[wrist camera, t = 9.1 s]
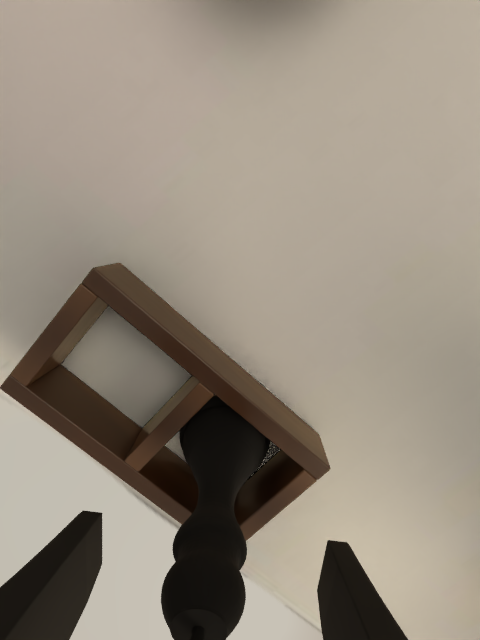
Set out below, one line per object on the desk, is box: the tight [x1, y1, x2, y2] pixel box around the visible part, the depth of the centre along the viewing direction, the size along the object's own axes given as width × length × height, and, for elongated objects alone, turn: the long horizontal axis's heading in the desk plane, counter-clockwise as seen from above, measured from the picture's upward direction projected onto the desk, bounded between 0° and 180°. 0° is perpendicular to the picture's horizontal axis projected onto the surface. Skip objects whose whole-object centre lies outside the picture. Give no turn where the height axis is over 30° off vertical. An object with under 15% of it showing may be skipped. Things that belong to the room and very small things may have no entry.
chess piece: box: [161, 395, 270, 640], centre depth 11 cm, size 4×4×10 cm
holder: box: [0, 263, 330, 540], centre depth 15 cm, size 7×12×2 cm, turn 48°
